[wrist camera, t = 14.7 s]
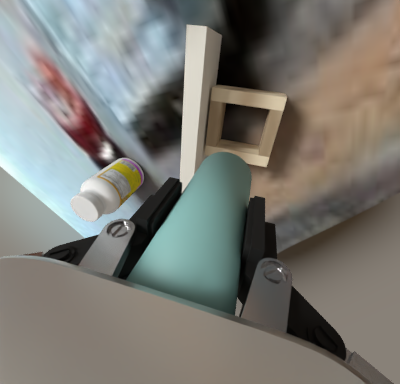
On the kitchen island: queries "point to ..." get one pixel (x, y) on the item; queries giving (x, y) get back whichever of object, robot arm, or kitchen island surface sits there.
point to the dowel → (202, 237)
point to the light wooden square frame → (247, 98)
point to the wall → (197, 96)
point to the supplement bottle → (107, 189)
